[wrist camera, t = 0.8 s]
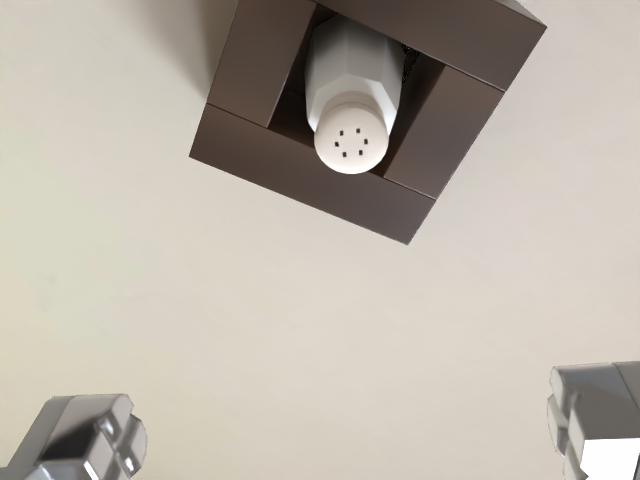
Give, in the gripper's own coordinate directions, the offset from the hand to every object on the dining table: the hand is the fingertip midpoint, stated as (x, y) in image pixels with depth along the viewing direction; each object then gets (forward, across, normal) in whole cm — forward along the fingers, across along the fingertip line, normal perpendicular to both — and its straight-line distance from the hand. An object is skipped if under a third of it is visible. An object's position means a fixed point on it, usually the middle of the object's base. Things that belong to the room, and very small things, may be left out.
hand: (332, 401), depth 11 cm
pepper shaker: (+23, 0, 0) cm, 23 cm away
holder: (+23, 0, 0) cm, 23 cm away
